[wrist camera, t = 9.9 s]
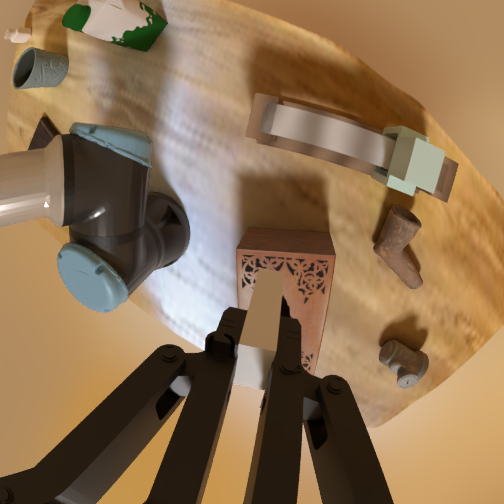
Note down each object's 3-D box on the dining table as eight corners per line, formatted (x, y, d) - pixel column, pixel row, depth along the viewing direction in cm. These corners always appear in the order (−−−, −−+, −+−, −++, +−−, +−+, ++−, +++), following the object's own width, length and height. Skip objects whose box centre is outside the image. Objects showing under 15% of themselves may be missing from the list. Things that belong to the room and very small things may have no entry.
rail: (257, 142, 42) (243, 144, 32) (267, 97, 39) (256, 84, 29) (416, 192, 40) (445, 209, 30) (428, 151, 37) (461, 157, 26)
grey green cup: (42, 79, 41) (8, 79, 30) (61, 46, 37) (26, 41, 26) (57, 95, 43) (20, 96, 32) (77, 60, 39) (40, 55, 28)
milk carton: (120, 44, 37) (51, 24, 19) (145, 10, 33) (83, -23, 15) (147, 57, 38) (76, 33, 20) (174, 20, 34) (113, -20, 16)
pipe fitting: (427, 347, 52) (434, 378, 43) (404, 366, 56) (407, 397, 47) (397, 326, 52) (401, 358, 44) (373, 347, 56) (374, 379, 48)
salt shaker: (32, 34, 35) (9, 32, 26) (25, 44, 36) (3, 42, 27) (31, 27, 33) (9, 25, 25) (24, 36, 35) (2, 35, 26)
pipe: (411, 302, 44) (453, 273, 38) (361, 244, 41) (407, 206, 36) (405, 282, 49) (443, 254, 43) (358, 227, 46) (398, 192, 41)
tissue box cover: (248, 227, 49) (236, 248, 40) (329, 232, 46) (335, 255, 37) (250, 337, 59) (240, 368, 50) (314, 342, 57) (313, 375, 48)
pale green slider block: (370, 176, 36) (399, 194, 25) (384, 127, 33) (419, 124, 21) (393, 185, 36) (429, 206, 24) (407, 137, 33) (448, 139, 21)
